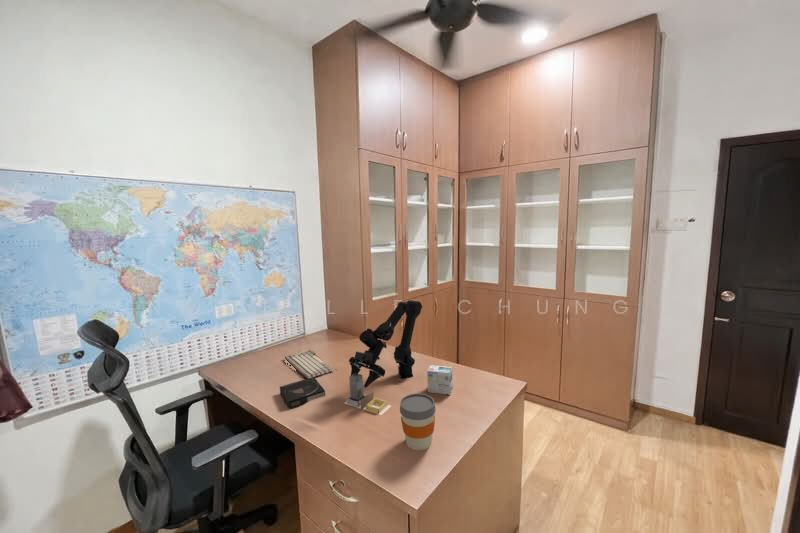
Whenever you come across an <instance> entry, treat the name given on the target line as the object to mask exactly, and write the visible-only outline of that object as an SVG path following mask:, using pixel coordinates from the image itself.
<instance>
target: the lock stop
mask: <svg viewBox="0 0 800 533" xmlns="http://www.w3.org/2000/svg"><path fill="white" fill-rule="evenodd" d="M348 378H349V390H350V391H349V392H350V397H351V400H353V401H357V402H359V401H360V400H361V399H362V398H363V397H364V395H365V394H364V393H365V392H364V382H363V381H364V379H363V374H361V373H358V374H357V373H354V374H353V375H351V374H350V376H349V377H348Z"/></svg>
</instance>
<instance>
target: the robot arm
mask: <svg viewBox="0 0 800 533" xmlns="http://www.w3.org/2000/svg"><path fill="white" fill-rule="evenodd" d="M422 309H423V305H422V303H421V302H420V301H417V300H411V299H410V300H407V301H399V302H398V303H397V306H396V307H395V309H394V310H393V311H392V312H391V314H390V315H389V316H388V318H387V319H386V321H384V322H382V323H381V324H379V325H378V327H376V328H375V330H373V329H371V328H366V330H364V331H362V332H361V333H360V335H359V342H361V343H362V344H364V345H365V346H366V347H367V348H368V350H367V349H366V350H365V351H364V352H361V351H355V352H354V353H355V354H354V356H350V358H349V359H348V363H349V365H350V367H351V370H350V376H351V375H353V374H354V373H357V374H360V371H361V370H362V369H361V368H363V369H364V368H365V369H367V370H368V371H369V372H368V376H367V378H366V381H365V383H364V384H363V388H368V386H370V385H371V384H372V383H373V382H375V381H377V380H378V379H379V378H380V379H381V377H385V374H386V369H384V368H383V367H382V366H381V365H379V364H376V362H377V361H380V359H381V358H380V355H381V353H382V351H383V349H387V348H388V347H387V342H388V341H389V340H391V338H392V336H393V335H394V333H395V327H396V326H397V325H398V323H399V322H400V321H401V319H402V318H403V317H404V315H405V316H406V318H405V321H404V327H403V329H402V330H403V332H402V336H401V340H400V344H399V345H397V346H395V347H394V352H393V358H394V361H395V363H396V364H398V366H397V371H398V372H397V374H398V376H399V377H400V379H405V378H407V379H408V378H412V377H414V375H413V366H414V365H415V362H416V359H415V358H414V357H412V348H411V342H412V338H413V332H414V328H415V323H416V319H418V317H419V316H420V314H421V312H422ZM386 341H387V342H386Z"/></svg>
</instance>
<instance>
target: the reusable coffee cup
mask: <svg viewBox="0 0 800 533" xmlns="http://www.w3.org/2000/svg"><path fill="white" fill-rule="evenodd" d="M399 402H400V403H399V413H400V415H401V416H400V421H401V426H402V431H403V433H404V435H405V437H404V438H405V441H406V445H407V447H408V448H409V449H411V450H413V451H425V450H426V449H428V448H430V447H431V446H432V441H433V433H434V431H435V424H436V423H435V422H436V414H435V413H436V404H435V400H434V398H433V397H432V396H430V395H427V394H426V393H411V394H407V395H405V396H404V397H402V398H401V400H400V401H399Z"/></svg>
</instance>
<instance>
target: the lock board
mask: <svg viewBox="0 0 800 533" xmlns="http://www.w3.org/2000/svg"><path fill="white" fill-rule="evenodd" d="M374 396H375V395H374V391H370V392H368V393H367V394H364V397H363V398H362V399H361V400H360V401H359V402H357V401H353V400H351V396H349V397H348V398H346V401H345V402H344V404H345V405H348V406H352V407H355V408H357V409H361V410H364V411H367V412H370V413H373V414H376V415H379V416H383V415H384V413H385V412H387V411H388V410H389V409H390V408H391V407H392V405H390V404H388V401H387V400H383V399H380V398H376V397H374Z"/></svg>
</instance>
